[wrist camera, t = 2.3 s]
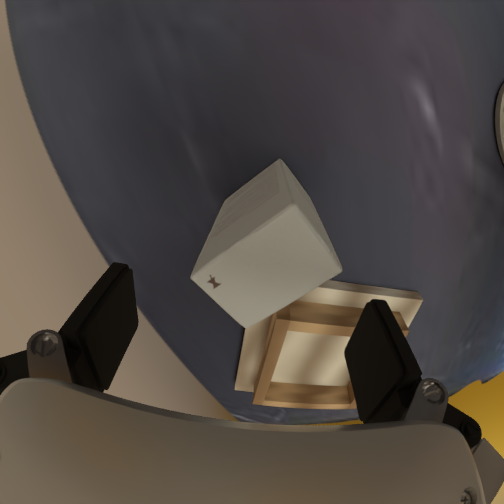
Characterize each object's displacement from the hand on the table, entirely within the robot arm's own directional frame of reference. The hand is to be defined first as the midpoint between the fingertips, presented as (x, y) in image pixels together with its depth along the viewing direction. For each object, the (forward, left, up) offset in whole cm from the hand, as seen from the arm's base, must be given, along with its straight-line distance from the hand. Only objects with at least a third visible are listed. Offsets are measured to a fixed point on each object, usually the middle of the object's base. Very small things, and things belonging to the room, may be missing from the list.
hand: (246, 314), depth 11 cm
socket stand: (-10, +16, -14) cm, 23 cm away
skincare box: (-1, 0, -15) cm, 15 cm away
